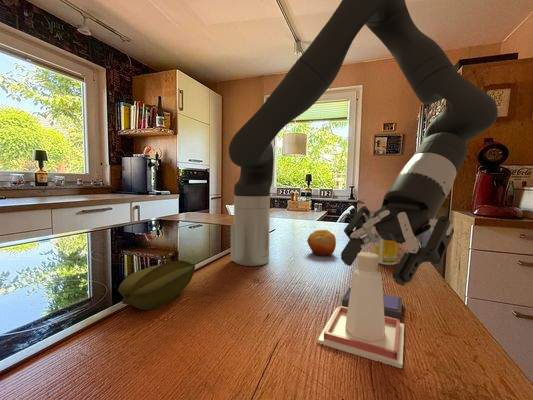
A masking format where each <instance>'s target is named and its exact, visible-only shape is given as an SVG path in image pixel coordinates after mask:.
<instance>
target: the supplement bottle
mask: <svg viewBox="0 0 533 400" xmlns="http://www.w3.org/2000/svg"><path fill="white" fill-rule="evenodd" d="M398 244H399V243H397V242H395V241H387V240H383V239H381V240H379V241H377V242H374V253H375V254H377V255H378V256H379V260H378V264H380V265H384V266H385V265H387V266H394V265H396V264H397V262H398V261H397V259H398V246H399V245H398Z"/></svg>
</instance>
